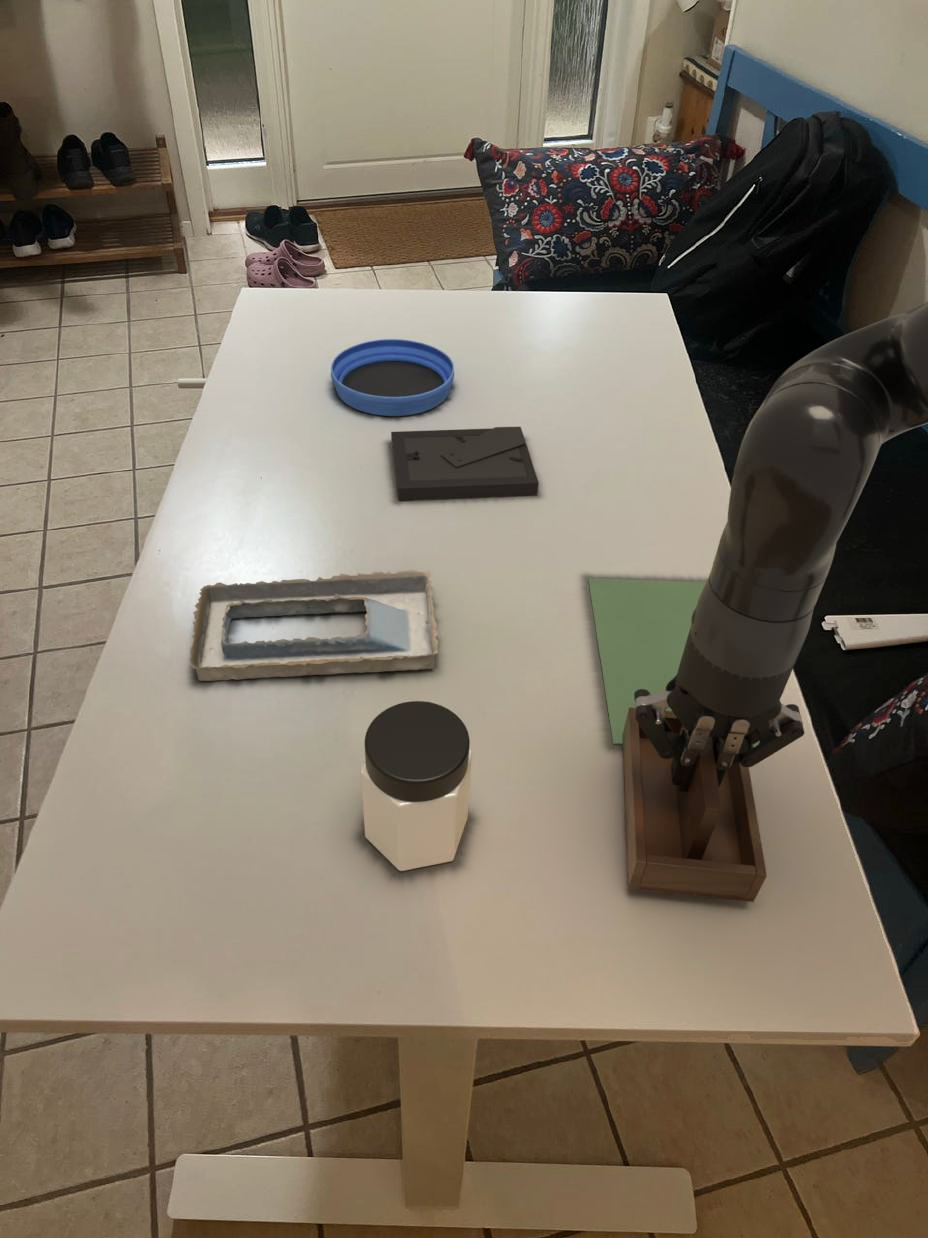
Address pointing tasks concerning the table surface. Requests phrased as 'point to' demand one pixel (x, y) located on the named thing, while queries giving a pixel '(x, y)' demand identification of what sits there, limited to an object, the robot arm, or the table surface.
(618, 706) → the mat
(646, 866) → the cutlery caddy
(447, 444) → the picture frame
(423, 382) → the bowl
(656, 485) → the table surface
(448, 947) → the table surface
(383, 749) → the jar
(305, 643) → the picture frame
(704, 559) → the table surface
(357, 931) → the table surface
